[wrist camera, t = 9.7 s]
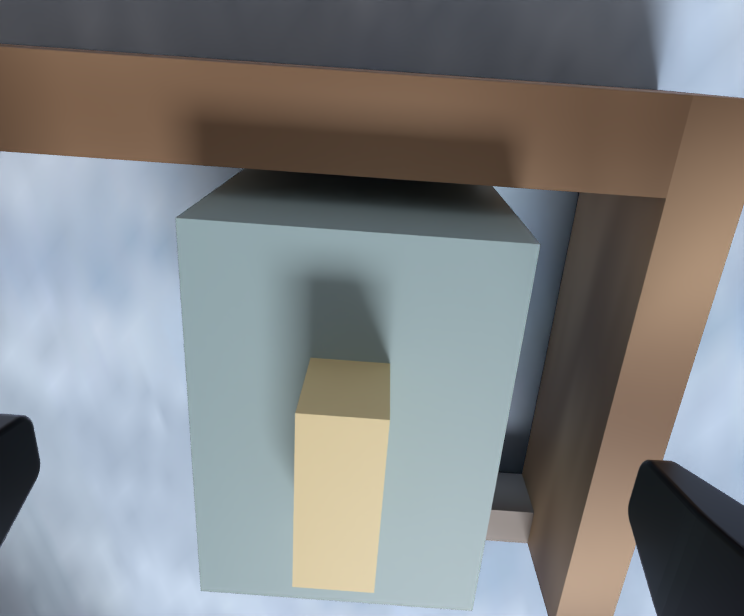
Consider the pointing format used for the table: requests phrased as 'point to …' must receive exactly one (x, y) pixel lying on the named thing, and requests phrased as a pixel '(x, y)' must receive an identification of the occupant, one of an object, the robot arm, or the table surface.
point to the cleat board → (476, 167)
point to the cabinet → (349, 382)
